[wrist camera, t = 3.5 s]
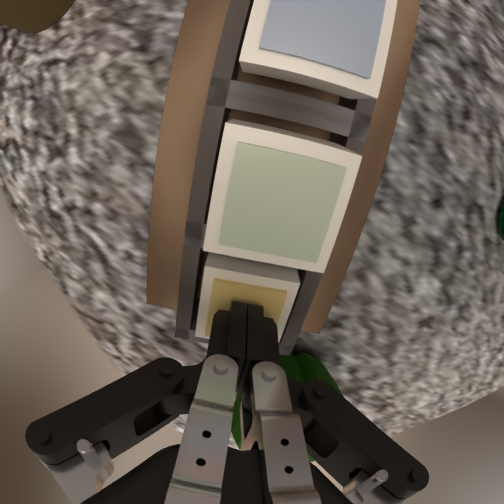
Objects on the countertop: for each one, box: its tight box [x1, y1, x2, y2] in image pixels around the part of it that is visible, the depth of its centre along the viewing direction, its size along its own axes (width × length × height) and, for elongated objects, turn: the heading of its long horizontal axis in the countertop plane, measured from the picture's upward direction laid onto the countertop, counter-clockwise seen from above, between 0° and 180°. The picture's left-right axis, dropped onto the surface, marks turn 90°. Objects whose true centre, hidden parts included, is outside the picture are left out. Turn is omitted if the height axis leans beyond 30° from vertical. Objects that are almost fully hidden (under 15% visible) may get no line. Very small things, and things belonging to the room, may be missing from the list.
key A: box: [203, 119, 362, 273], centre depth 11 cm, size 4×4×3 cm
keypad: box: [147, 0, 420, 356], centre depth 13 cm, size 12×27×4 cm, turn 168°
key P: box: [195, 252, 300, 342], centre depth 16 cm, size 4×4×3 cm
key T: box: [239, 0, 397, 99], centre depth 8 cm, size 4×4×3 cm
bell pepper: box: [231, 352, 343, 462], centre depth 19 cm, size 8×8×10 cm
